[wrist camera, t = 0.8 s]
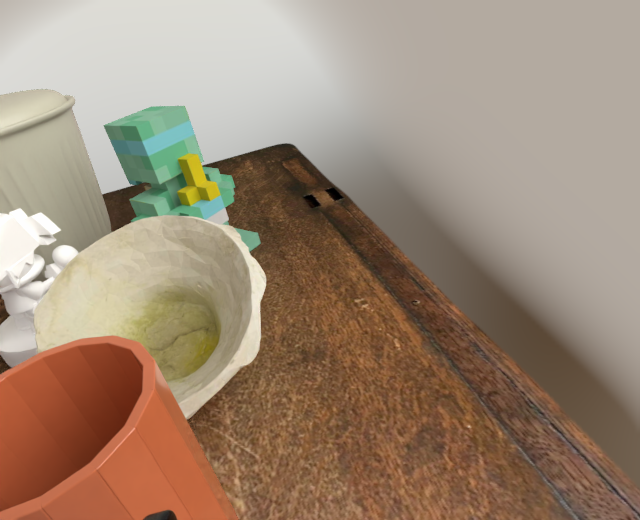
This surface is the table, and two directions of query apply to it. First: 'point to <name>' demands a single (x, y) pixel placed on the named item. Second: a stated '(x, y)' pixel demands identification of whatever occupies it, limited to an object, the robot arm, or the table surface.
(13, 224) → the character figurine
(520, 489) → the table surface
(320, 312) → the table surface
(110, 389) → the terracotta cup
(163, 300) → the bowl
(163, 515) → the robot arm
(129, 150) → the toy
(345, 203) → the table surface
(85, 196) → the canister
